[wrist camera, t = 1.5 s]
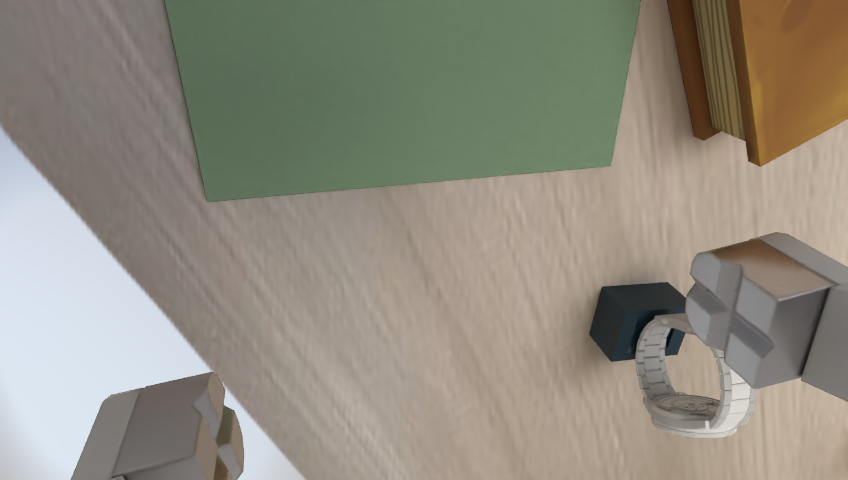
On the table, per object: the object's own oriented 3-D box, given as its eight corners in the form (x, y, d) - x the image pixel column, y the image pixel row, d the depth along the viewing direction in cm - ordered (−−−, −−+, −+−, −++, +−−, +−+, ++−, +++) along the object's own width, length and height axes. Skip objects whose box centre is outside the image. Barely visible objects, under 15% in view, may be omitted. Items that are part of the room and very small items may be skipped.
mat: (207, 199, 29) (206, 202, 28) (154, -55, 23) (152, -55, 23) (607, 164, 34) (610, 166, 33) (646, -53, 28) (650, -53, 27)
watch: (583, 354, 41) (672, 473, 32) (608, 266, 38) (717, 371, 28) (645, 348, 43) (749, 460, 33) (675, 262, 39) (801, 361, 30)
